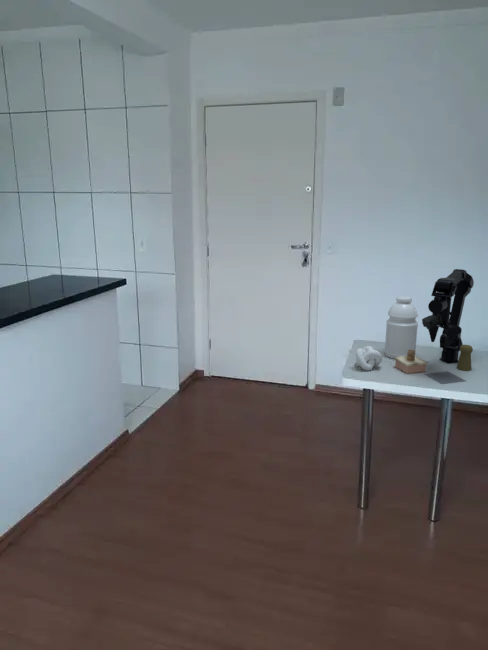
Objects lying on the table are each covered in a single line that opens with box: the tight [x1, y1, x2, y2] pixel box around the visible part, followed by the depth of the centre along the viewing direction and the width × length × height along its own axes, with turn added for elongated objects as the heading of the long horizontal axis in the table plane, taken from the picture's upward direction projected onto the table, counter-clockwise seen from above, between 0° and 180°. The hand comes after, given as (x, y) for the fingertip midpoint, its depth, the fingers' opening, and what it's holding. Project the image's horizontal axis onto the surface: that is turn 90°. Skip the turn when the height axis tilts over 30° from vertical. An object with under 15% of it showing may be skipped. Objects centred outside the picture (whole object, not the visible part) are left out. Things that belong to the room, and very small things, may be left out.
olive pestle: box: [456, 344, 474, 372], centre depth 225 cm, size 6×6×11 cm
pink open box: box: [394, 360, 427, 375], centre depth 225 cm, size 9×9×4 cm
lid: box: [393, 349, 429, 366], centre depth 224 cm, size 10×10×5 cm
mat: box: [423, 371, 467, 385], centre depth 216 cm, size 12×12×1 cm
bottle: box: [384, 295, 419, 360], centre depth 242 cm, size 14×14×28 cm
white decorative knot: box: [355, 345, 383, 372], centre depth 228 cm, size 11×12×9 cm
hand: (439, 345), depth 221 cm, fingers open, 9 cm apart
